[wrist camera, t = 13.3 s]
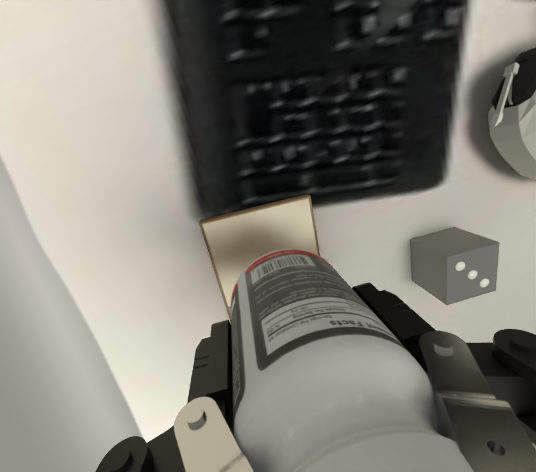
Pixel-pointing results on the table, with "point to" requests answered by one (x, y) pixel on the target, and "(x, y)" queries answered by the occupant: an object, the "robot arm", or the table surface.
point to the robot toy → (516, 115)
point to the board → (257, 237)
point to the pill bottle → (326, 378)
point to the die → (454, 264)
